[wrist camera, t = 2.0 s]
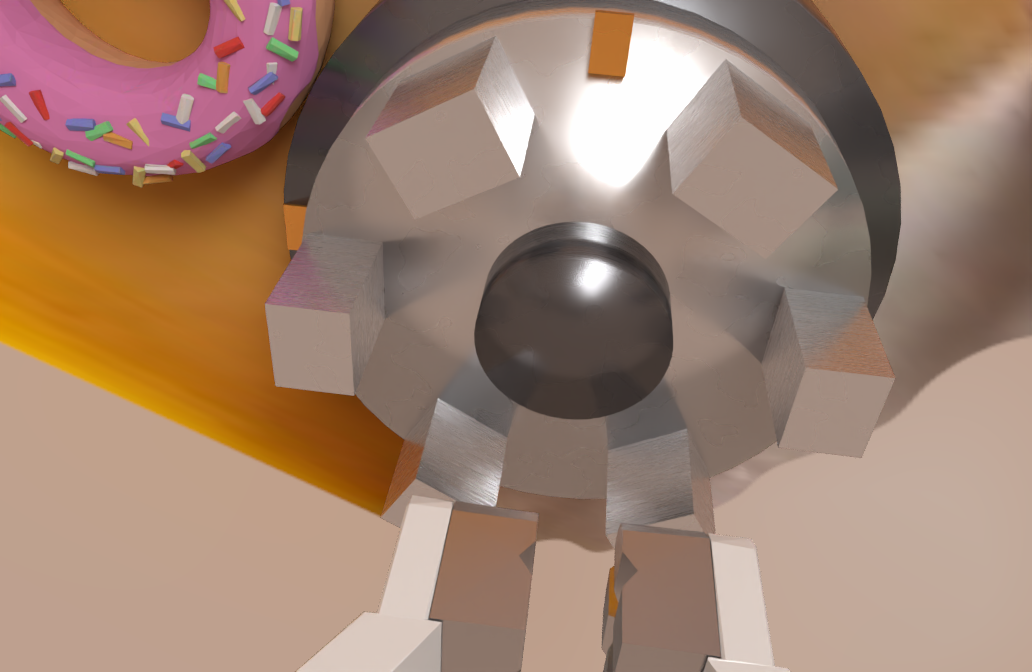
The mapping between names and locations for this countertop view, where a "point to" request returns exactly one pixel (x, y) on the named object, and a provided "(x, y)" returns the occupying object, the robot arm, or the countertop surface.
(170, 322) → the countertop surface
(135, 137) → the donut
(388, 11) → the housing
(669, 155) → the toothed metal gear
